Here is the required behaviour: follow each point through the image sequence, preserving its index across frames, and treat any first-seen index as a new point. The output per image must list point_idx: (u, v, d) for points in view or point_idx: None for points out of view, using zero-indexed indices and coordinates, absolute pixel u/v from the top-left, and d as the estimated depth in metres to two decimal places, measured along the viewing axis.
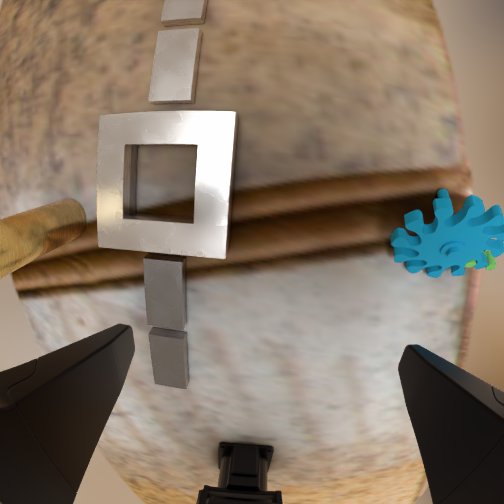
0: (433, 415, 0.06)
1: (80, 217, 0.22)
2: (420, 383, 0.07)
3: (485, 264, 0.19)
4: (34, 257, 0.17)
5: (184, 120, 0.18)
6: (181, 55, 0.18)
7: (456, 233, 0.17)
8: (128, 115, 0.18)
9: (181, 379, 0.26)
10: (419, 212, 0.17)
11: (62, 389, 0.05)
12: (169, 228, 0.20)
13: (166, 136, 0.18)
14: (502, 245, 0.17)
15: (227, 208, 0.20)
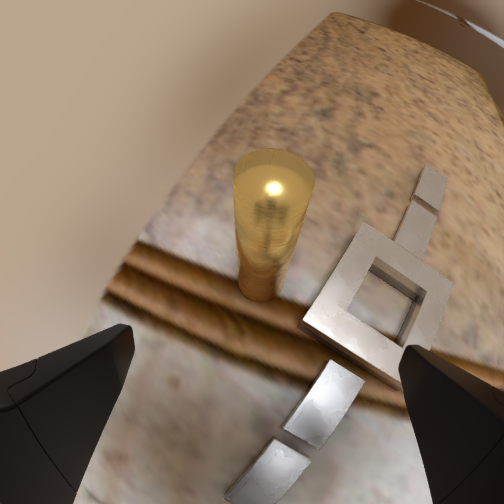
0: (433, 416, 0.06)
1: (282, 285, 0.23)
2: (420, 383, 0.07)
3: None
4: (271, 266, 0.17)
5: (423, 269, 0.22)
6: (423, 227, 0.25)
7: None
8: (386, 238, 0.23)
9: None
10: None
11: (62, 389, 0.05)
12: (382, 342, 0.19)
13: (408, 272, 0.22)
14: None
15: (429, 348, 0.19)
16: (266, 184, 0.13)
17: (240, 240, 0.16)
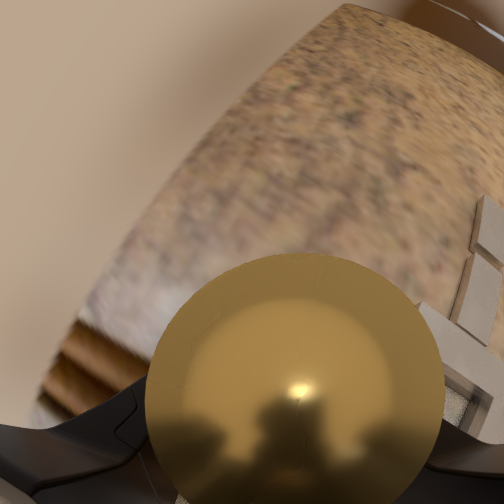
0: None
1: None
2: None
3: None
4: None
5: (492, 366, 0.12)
6: (489, 293, 0.15)
7: None
8: (451, 326, 0.13)
9: None
10: None
11: None
12: None
13: (476, 374, 0.12)
14: None
15: None
16: (278, 448, 0.03)
17: None
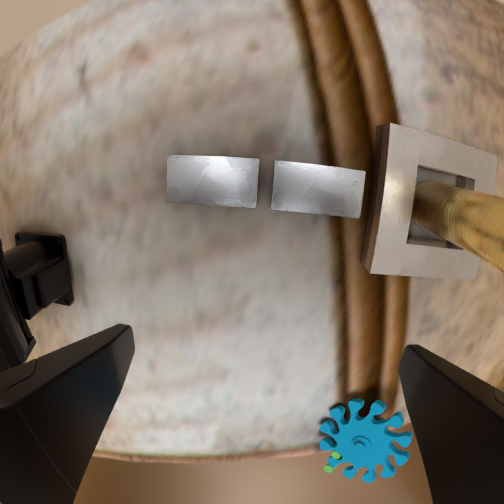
0: (433, 415, 0.06)
1: None
2: (420, 383, 0.07)
3: (333, 465, 0.24)
4: (458, 234, 0.14)
5: None
6: None
7: (379, 448, 0.21)
8: (492, 186, 0.17)
9: (184, 197, 0.19)
10: (402, 423, 0.21)
11: (62, 389, 0.05)
12: (405, 217, 0.18)
13: None
14: None
15: (413, 275, 0.19)
16: None
17: (484, 206, 0.11)
